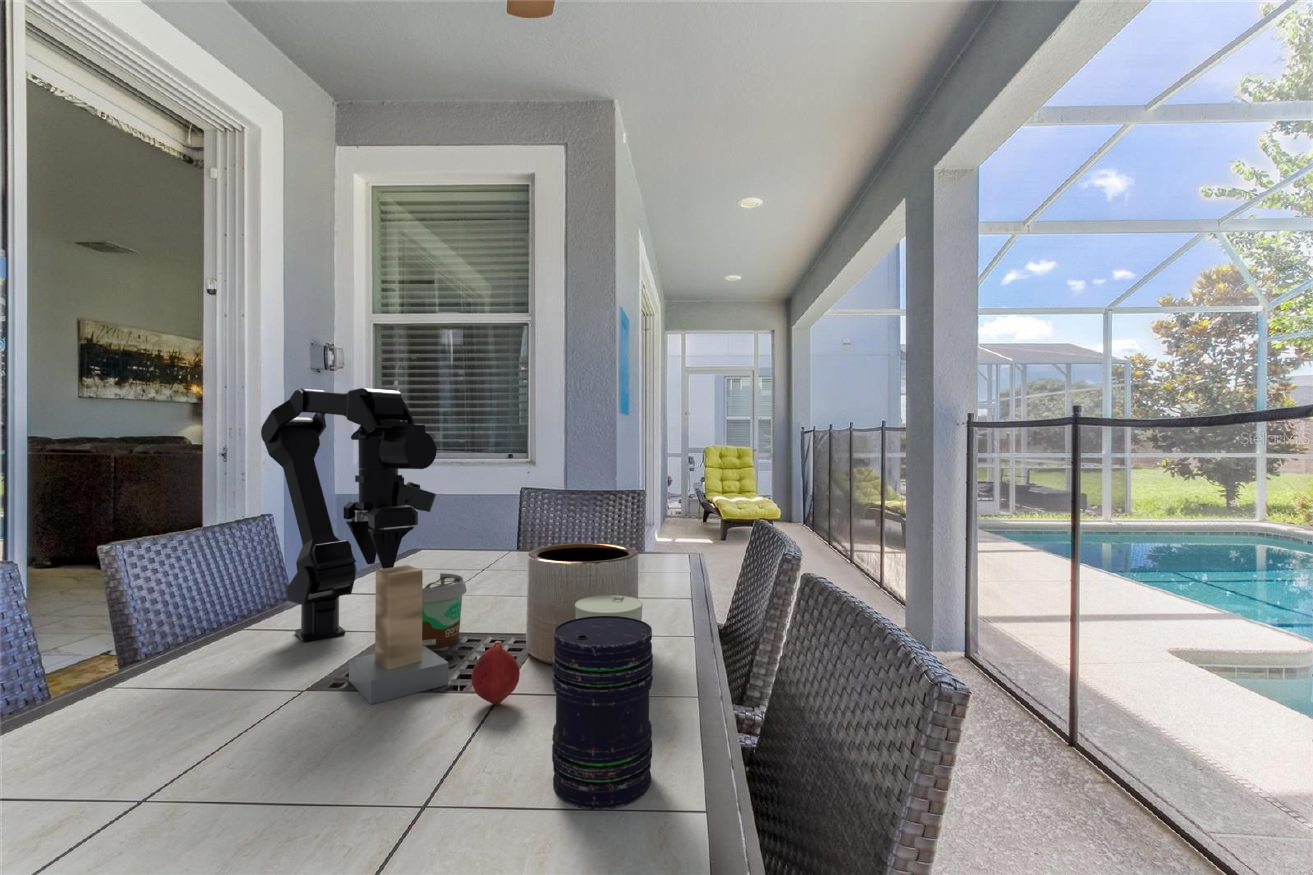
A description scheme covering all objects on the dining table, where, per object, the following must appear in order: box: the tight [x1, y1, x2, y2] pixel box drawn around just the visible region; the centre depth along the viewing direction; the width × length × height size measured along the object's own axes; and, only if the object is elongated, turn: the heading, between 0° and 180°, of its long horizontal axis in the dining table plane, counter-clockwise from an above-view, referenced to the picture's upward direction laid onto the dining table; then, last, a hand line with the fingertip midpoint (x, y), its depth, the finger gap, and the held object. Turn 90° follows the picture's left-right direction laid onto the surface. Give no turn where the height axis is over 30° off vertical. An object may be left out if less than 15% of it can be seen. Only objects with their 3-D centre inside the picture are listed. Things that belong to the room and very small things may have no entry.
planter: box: [525, 542, 639, 666], centre depth 100 cm, size 18×18×16 cm
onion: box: [470, 640, 521, 706], centre depth 79 cm, size 6×6×8 cm
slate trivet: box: [348, 645, 450, 705], centre depth 86 cm, size 10×10×3 cm
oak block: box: [374, 564, 424, 669], centre depth 86 cm, size 4×4×12 cm
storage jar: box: [551, 616, 654, 811], centre depth 62 cm, size 10×10×15 cm
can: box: [575, 595, 644, 621], centre depth 85 cm, size 9×9×12 cm
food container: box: [422, 572, 467, 651], centre depth 104 cm, size 12×6×10 cm, turn 179°
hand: (379, 568), depth 99 cm, fingers open, 9 cm apart
